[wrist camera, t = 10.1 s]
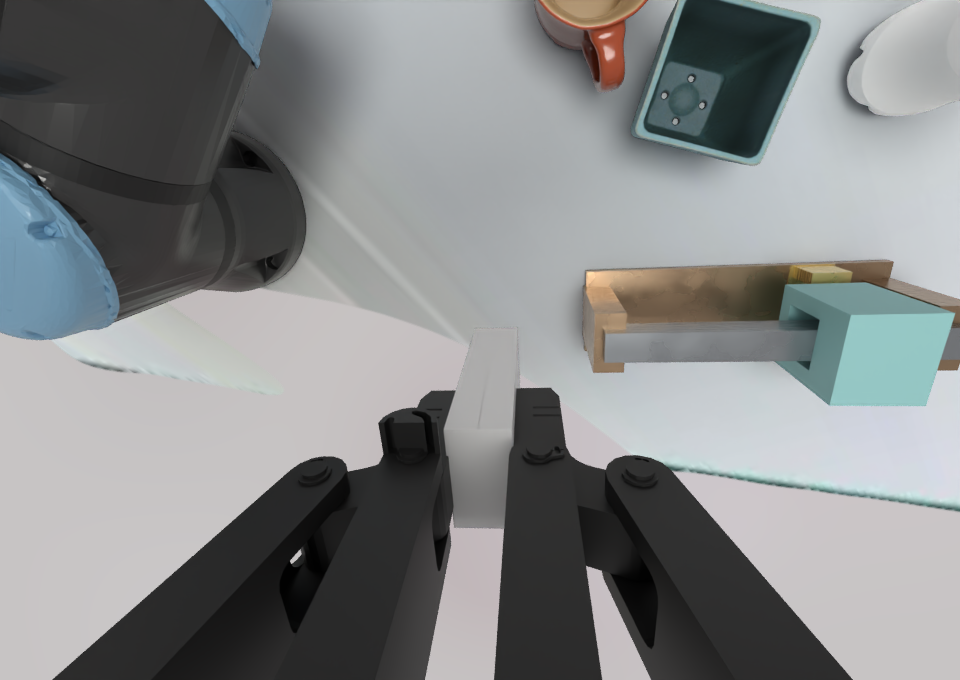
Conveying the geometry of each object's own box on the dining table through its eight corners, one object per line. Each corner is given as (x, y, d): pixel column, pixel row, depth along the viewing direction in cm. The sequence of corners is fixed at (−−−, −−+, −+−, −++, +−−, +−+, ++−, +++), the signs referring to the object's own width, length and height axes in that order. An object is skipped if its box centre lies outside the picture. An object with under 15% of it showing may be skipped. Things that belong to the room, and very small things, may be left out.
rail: (582, 348, 46) (594, 394, 37) (583, 270, 43) (597, 298, 34) (868, 344, 43) (962, 394, 33) (889, 259, 40) (999, 288, 31)
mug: (515, -46, 35) (508, -126, 26) (630, -87, 34) (668, -188, 24) (545, 119, 39) (548, 103, 30) (650, 89, 38) (689, 62, 28)
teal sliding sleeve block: (771, 359, 39) (829, 405, 32) (785, 284, 37) (850, 315, 29) (847, 358, 39) (925, 406, 31) (866, 282, 36) (955, 313, 29)
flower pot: (650, 24, 36) (684, -19, 28) (758, 52, 36) (826, 17, 28) (612, 142, 39) (633, 134, 31) (711, 168, 39) (759, 167, 31)
